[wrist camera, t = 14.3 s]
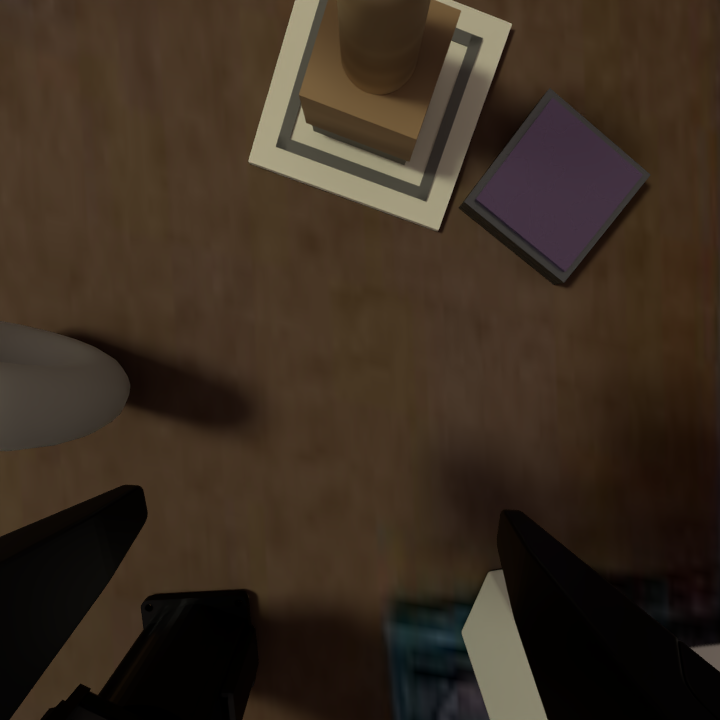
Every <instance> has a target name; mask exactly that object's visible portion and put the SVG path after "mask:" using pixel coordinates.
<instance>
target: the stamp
mask: <svg viewBox="0 0 720 720" xmlns="http://www.w3.org/2000/svg"><path fill="white" fill-rule="evenodd" d="M460 13H461V10H459V9H456V8H454V7H451V6H449V5H446V4H444V3H441V2H439V1H436V0H328V2H327V5H326V8H325V11H324V15H323V18H322V21H321V24H320V28H319V31H318V34H317V37H316V41H315V44H314V47H313V50H312V54H311V57H310V60H309V63H308V67H307V70H306V73H305V76H304V80H303V83H302V86H301V89H300V93H299V98H300V102H301V105H302V109H303V113H304V117H305V121H306V123H307V124H310V125H312V126H313V131H315V132H317V133H320V134H323V135H325V136H328V137H331V138H333V139H336V140H338V141H341V142H344V143H346V144H349V145H352V146H354V147H357V148H360V149H362V150H365V151H368V152H370V153H373V154H376V155H378V156H381V157H384V158H386V159H389V160H392V161H394V162H397V163H400V164H402V165H405V162H406V161H408V162H410V159H411V156H412V153H413V150H414V147H415V144H416V141H417V139H418V136H419V133H420V130H421V127H422V124H423V121H424V118H425V116H426V113H427V110H428V107H429V104H430V101H431V98H432V95H433V93H434V90H435V87H436V84H437V81H438V78H439V75H440V72H441V69H442V67H443V64H444V61H445V58H446V55H447V52H448V49H449V46H450V43H451V40H452V37H453V34H454V31H455V28H456V25H457V22H458V19H459V16H460Z"/></svg>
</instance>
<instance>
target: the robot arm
mask: <svg viewBox="0 0 720 720" xmlns="http://www.w3.org/2000/svg"><path fill="white" fill-rule="evenodd" d="M147 514H148V512H147V506H146V501H145V496H144V491H143V489H142V487H140V486H138V485H122V486H120V487H118V488H115V489H113V490H110V491H108V492H106V493H103V494H101V495H98V496H96V497H94V498H91V499H89V500H87V501H84V502H82V503H79V504H77V505H75V506H72V507H70V508H68V509H65V510H63V511H60V512H58V513H56V514H53V515H51V516H49V517H46V518H44V519H41V520H39V521H37V522H34V523H32V524H29V525H27V526H25V527H22V528H20V529H18V530H15V531H13V532H10V533H8V534H6V535H3V536H1V537H0V720H10V718H11V717H12V716H13V714H14V713H15V711H16V710H17V709H18V707H19V706H20V705H21V703H22V702H23V700H24V699H25V698H26V696H27V695H28V693H29V692H30V691H31V689H32V688H33V687H34V685H35V684H36V682H37V681H38V680H39V678H40V677H41V676H42V674H43V673H44V671H45V670H46V669H47V667H48V666H49V664H50V663H51V662H52V660H53V659H54V658H55V656H56V655H57V653H58V652H59V651H60V649H61V648H62V646H63V645H64V644H65V642H66V641H67V640H68V638H69V637H70V635H71V634H72V633H73V631H74V630H75V628H76V627H77V626H78V624H79V623H80V622H81V620H82V619H83V617H84V616H85V615H86V613H87V612H88V611H89V609H90V608H91V606H92V605H93V604H94V602H95V601H96V599H97V598H98V597H99V595H100V594H101V593H102V591H103V590H104V588H105V587H106V585H107V584H108V582H109V581H110V579H111V578H112V576H113V575H114V573H115V571H116V570H117V568H118V567H119V565H120V563H121V562H122V560H123V558H124V557H125V555H126V553H127V552H128V550H129V548H130V547H131V545H132V543H133V542H134V540H135V539H136V537H137V535H138V534H139V532H140V530H141V529H142V527H143V525H144V524H145V522H146V519H147ZM497 547H498V552H499V557H500V561H501V565H502V570H503V574H504V578H505V583H506V587H507V592H508V596H509V600H510V605H511V609H512V613H513V617H514V620H515V624H516V627H517V630H518V633H519V636H520V639H521V642H522V645H523V648H524V651H525V654H526V657H527V660H528V663H529V666H530V669H531V672H532V675H533V678H534V681H535V684H536V687H537V690H538V693H539V696H540V699H541V702H542V705H543V708H544V711H545V714H546V716H547V719H548V720H720V672H719V671H718V670H717V669H715V668H714V667H713V666H712V665H710V664H709V663H708V662H707V661H705V660H704V659H703V658H702V657H700V656H699V655H698V654H697V653H696V652H694V651H693V650H692V649H691V648H689V647H688V646H687V645H686V644H684V643H683V642H681V641H679V642H678V639H677V637H676V636H674V635H673V634H672V633H671V632H669V631H668V630H667V629H666V628H665V627H663V626H662V625H661V624H660V623H658V622H657V621H656V620H655V619H653V618H652V617H651V616H650V615H648V614H647V613H646V612H645V611H644V610H642V609H641V608H640V607H639V606H637V605H636V604H635V603H634V602H632V601H631V600H630V599H629V598H628V597H626V596H625V595H624V594H623V593H621V592H620V591H619V590H618V589H616V588H615V587H614V586H613V585H612V584H610V583H609V582H608V581H607V580H605V579H604V578H603V577H602V576H600V575H599V574H598V573H597V572H596V571H594V570H593V569H592V568H591V567H589V566H588V565H587V564H586V563H584V562H583V561H582V560H581V559H580V558H578V557H577V556H576V555H575V554H573V553H572V552H571V551H570V550H568V549H567V548H566V547H565V546H563V545H562V544H561V543H560V542H559V541H557V540H556V539H555V538H554V537H552V536H551V535H550V534H549V533H547V532H546V531H545V530H544V529H543V528H541V527H540V526H539V525H538V524H536V523H535V522H534V521H533V520H531V519H530V518H529V517H528V516H527V515H525V514H524V513H523V512H521V511H519V510H507V509H504V510H502V511H501V514H500V520H499V527H498V534H497ZM237 599H239V600H241V601H242V602H239V601H238V600H237ZM149 604H151V605H152V606H150V605H149ZM141 613H142V620H143V628H144V630H143V631H142V632H141V634H140V635H139V637H138V638H137V640H136V641H135V642H134V644H133V645H132V647H131V648H130V650H129V651H128V653H127V654H126V655H125V657H124V658H123V660H122V661H121V663H120V664H119V665H118V667H117V668H116V670H115V671H114V673H113V674H112V676H111V677H110V678H109V680H108V681H107V683H106V684H105V686H104V687H103V688H102V690H101V691H100V693H99V694H98V695H96V694H94V693H92V692H90V689H91V688H89V687H86V686H84V685H82V684H80V685H79V686H78V687H77V688H76V689H75V690H74V692H73V693H72V694H71V695H70V696H69V697H68V699H67V700H66V701H64V700H62V701H61V702H60V703H59V704H58V705H57V706H56V707H54V708H50V709H49V710H48V711H47V712H46V713H45V715H44V716H43V717H42V718H41V720H242V719H243V715H244V712H245V708H246V705H247V701H248V698H249V695H250V691H251V688H252V687H253V686H254V683H255V679H256V670H257V667H258V663H259V662H258V651H257V641H256V630H255V628H254V626H253V625H251V619H250V608H249V598H248V595H247V594H246V593H245V592H244V591H225V592H207V593H188V594H169V595H151V596H148V597H147V598H146V599H145V600H144V602H143V603H142V605H141Z"/></svg>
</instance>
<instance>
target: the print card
mask: <svg viewBox="0 0 720 720" xmlns="http://www.w3.org/2000/svg"><path fill="white" fill-rule="evenodd" d="M436 1H439V2H441V3H444V4H446V5H449V6H451V7H454V8H456V9H459V10H461V13H460V16H459V19H458V22H457V25H456V28H455V31H454V34H453V37H452V40H451V43H450V46H449V49H448V52H447V55H446V58H445V61H444V64H443V67H442V69H441V72H440V75H439V78H438V81H437V84H436V87H435V90H434V93H433V95H432V98H431V101H430V104H429V107H428V110H427V113H426V116H425V118H424V121H423V124H422V127H421V130H420V133H419V136H418V139H417V141H416V144H415V147H414V150H413V153H412V156H411V159H410V162H408V161H406V162H405V165H402V164H400V163H397V162H394V161H392V160H389V159H386V158H384V157H381V156H378V155H376V154H373V153H370V152H368V151H365V150H362V149H360V148H357V147H354V146H352V145H349V144H346V143H344V142H341V141H338V140H336V139H333V138H331V137H328V136H325V135H323V134H320V133H317V132H315V131H313V126H312V125H310V124H307V123H306V121H305V117H304V113H303V109H302V105H301V102H300V98H299V93H300V89H301V86H302V83H303V80H304V76H305V73H306V70H307V67H308V63H309V60H310V57H311V54H312V50H313V47H314V44H315V41H316V37H317V34H318V31H319V28H320V24H321V21H322V18H323V15H324V11H325V8H326V5H327V2H328V0H295V3H294V7H293V10H292V13H291V17H290V20H289V24H288V27H287V31H286V34H285V37H284V41H283V44H282V48H281V51H280V54H279V58H278V61H277V65H276V68H275V72H274V75H273V78H272V82H271V85H270V89H269V92H268V96H267V99H266V102H265V106H264V109H263V113H262V116H261V119H260V123H259V126H258V130H257V133H256V137H255V140H254V143H253V147H252V150H251V154H250V157H249V161H248V162H249V163H250V164H251V165H254V166H257V167H260V168H262V169H265V170H268V171H271V172H273V173H276V174H279V175H282V176H284V177H287V178H290V179H293V180H296V181H298V182H301V183H304V184H307V185H309V186H312V187H315V188H318V189H320V190H323V191H326V192H329V193H331V194H334V195H337V196H340V197H343V198H345V199H348V200H351V201H354V202H356V203H359V204H362V205H365V206H367V207H370V208H373V209H376V210H379V211H381V212H384V213H387V214H390V215H392V216H395V217H398V218H401V219H403V220H406V221H409V222H412V223H415V224H417V225H420V226H423V227H426V228H428V229H431V230H434V231H437V232H438V230H439V228H440V225H441V222H442V219H443V216H444V214H445V211H446V208H447V205H448V202H449V200H450V197H451V194H452V191H453V188H454V186H455V183H456V180H457V177H458V174H459V172H460V169H461V166H462V163H463V160H464V158H465V155H466V152H467V149H468V146H469V144H470V141H471V138H472V135H473V132H474V130H475V127H476V124H477V121H478V118H479V116H480V113H481V110H482V107H483V104H484V101H485V99H486V96H487V93H488V90H489V87H490V85H491V82H492V79H493V76H494V73H495V71H496V68H497V65H498V62H499V59H500V57H501V54H502V51H503V48H504V45H505V43H506V40H507V37H508V34H509V31H510V29H511V26H512V24H511V23H509V22H506V21H504V20H501V19H498V18H496V17H493V16H491V15H488V14H486V13H483V12H481V11H478V10H475V9H473V8H470V7H468V6H465V5H463V4H460V3H458V2H455V1H452V0H436Z"/></svg>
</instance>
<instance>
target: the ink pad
mask: <svg viewBox="0 0 720 720" xmlns="http://www.w3.org/2000/svg"><path fill="white" fill-rule="evenodd" d="M649 176H650V174H649V173H648V172H647V171H646V170H644V169H643V168H642V167H641V166H640V165H639V164H637V163H636V162H635V161H634V160H633V159H632V158H630V157H629V156H628V155H627V154H626V153H625V152H624V151H622V150H621V149H620V148H619V147H618V146H617V145H615V144H614V143H613V142H612V141H611V140H610V139H608V138H607V137H606V136H605V135H604V134H603V133H601V132H600V131H599V130H598V129H597V128H596V127H594V126H593V125H592V124H591V123H590V122H589V121H588V120H586V119H585V118H584V117H583V116H582V115H581V114H579V113H578V112H577V111H576V110H575V109H574V108H572V107H571V106H570V105H569V104H568V103H567V102H565V101H564V100H563V99H562V98H561V97H560V96H558V95H557V94H556V93H555V92H554V91H553V90H551V89H550V88H549V90H548V91H547V92H546V93H545V94H544V96H543V97H542V98H541V99H540V101H539V102H538V103H537V104H536V106H535V107H534V108H533V110H532V111H531V112H530V114H529V115H528V116H527V118H526V119H525V120H524V122H523V123H522V124H521V126H520V127H519V128H518V130H517V131H516V132H515V134H514V135H513V136H512V138H511V139H510V140H509V142H508V143H507V144H506V146H505V147H504V148H503V150H502V151H501V152H500V154H499V155H498V156H497V158H496V159H495V160H494V162H493V163H492V164H491V166H490V167H489V168H488V170H487V171H486V172H485V174H484V175H483V176H482V178H481V179H480V180H479V182H478V183H477V184H476V186H475V187H474V188H473V190H472V191H471V192H470V194H469V195H468V196H467V197H466V199H465V200H464V201H463V203H462V204H461V205H460V207H459V209H461V210H462V211H463V212H464V213H466V214H467V215H468V216H469V217H471V218H472V219H473V220H474V221H476V222H477V223H478V224H479V225H481V226H482V227H483V228H484V229H485V230H487V231H488V232H489V233H490V234H492V235H493V236H494V237H495V238H497V239H498V240H499V241H500V242H502V243H503V244H504V245H505V246H507V247H508V248H509V249H510V250H511V251H513V252H514V253H515V254H516V255H518V256H519V257H520V258H521V259H523V260H524V261H525V262H526V263H528V264H529V265H530V266H531V267H533V268H534V269H535V270H536V271H537V272H539V273H540V274H541V275H542V276H544V277H545V278H546V279H547V280H549V281H550V282H551V283H552V284H554V285H555V284H560V283H564V282H565V281H566V280H567V278H568V277H569V276H570V275H571V273H572V272H573V271H574V270H575V268H576V267H577V266H578V265H579V263H580V262H581V261H582V260H583V258H584V257H585V256H586V255H587V253H588V252H589V251H590V250H591V248H592V247H593V246H594V245H595V243H596V242H597V241H598V240H599V238H600V237H601V236H602V235H603V234H604V232H605V231H606V230H607V229H608V227H609V226H610V225H611V224H612V222H613V221H614V220H615V219H616V217H617V216H618V215H619V214H620V212H621V211H622V210H623V209H624V207H625V206H626V205H627V204H628V202H629V201H630V200H631V199H632V197H633V196H634V195H635V194H636V192H637V191H638V190H639V189H640V187H641V186H642V185H643V184H644V182H645V181H646V180H647V179H648V177H649Z"/></svg>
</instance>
